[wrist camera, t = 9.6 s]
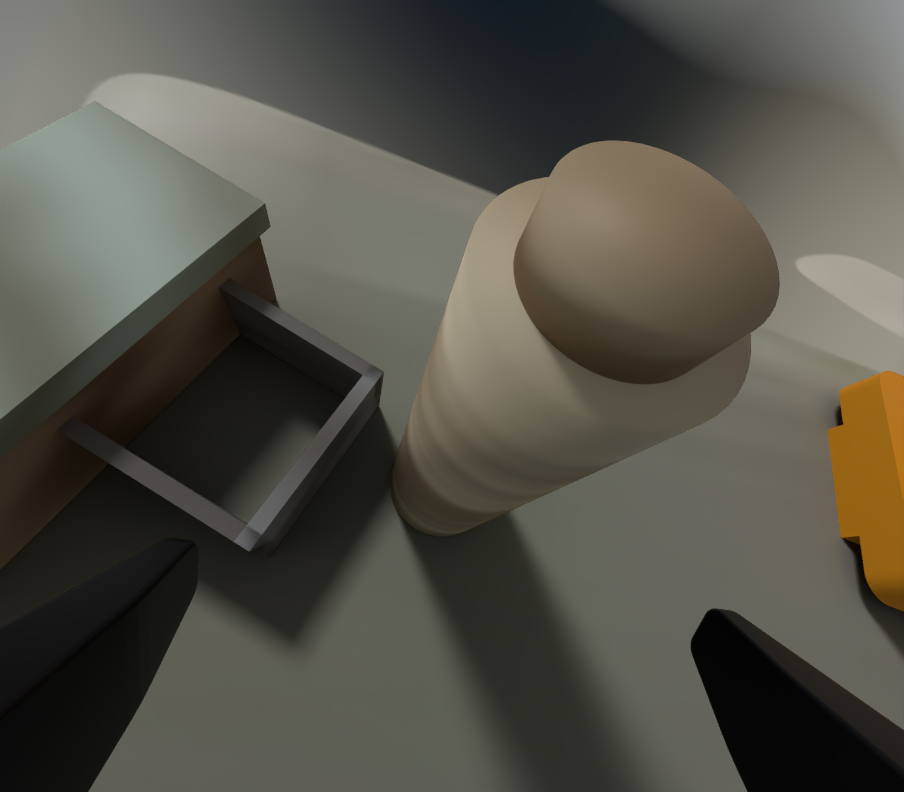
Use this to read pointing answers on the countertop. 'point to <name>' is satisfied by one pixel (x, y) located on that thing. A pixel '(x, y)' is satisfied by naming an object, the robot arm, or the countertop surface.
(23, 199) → the green slab with socket
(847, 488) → the bracket
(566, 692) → the countertop surface
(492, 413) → the wooden pepper mill
